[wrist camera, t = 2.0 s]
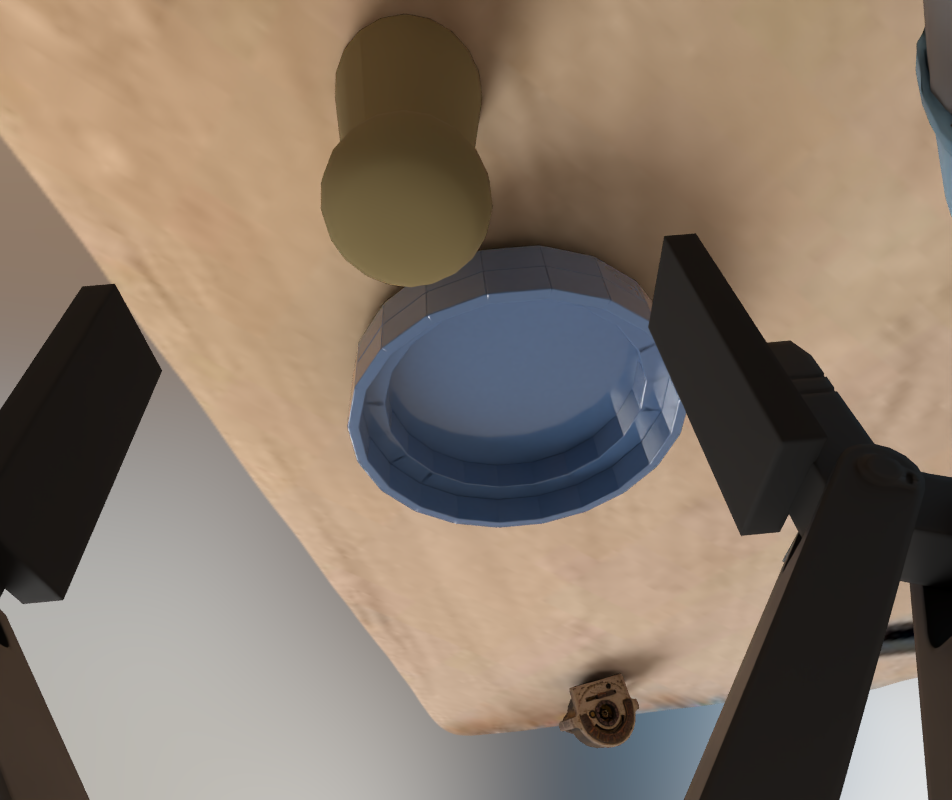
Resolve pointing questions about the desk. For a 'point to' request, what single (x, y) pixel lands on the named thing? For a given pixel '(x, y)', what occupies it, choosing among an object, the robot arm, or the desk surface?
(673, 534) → the desk surface
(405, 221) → the olive peg doll
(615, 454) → the bowl
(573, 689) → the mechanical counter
